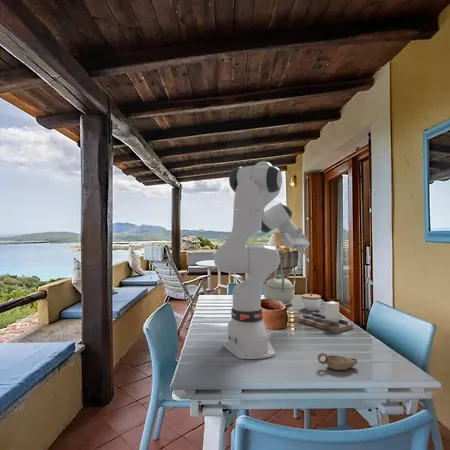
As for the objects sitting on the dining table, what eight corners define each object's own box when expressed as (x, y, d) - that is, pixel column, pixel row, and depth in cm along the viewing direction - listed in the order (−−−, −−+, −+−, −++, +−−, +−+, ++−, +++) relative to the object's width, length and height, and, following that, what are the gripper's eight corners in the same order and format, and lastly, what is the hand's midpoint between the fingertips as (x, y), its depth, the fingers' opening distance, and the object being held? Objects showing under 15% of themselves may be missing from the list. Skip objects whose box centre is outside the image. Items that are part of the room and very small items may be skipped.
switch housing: (298, 321, 170) (298, 314, 170) (314, 318, 177) (314, 311, 177) (336, 332, 152) (336, 324, 152) (352, 328, 159) (352, 320, 159)
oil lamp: (353, 364, 118) (353, 349, 118) (362, 373, 110) (362, 357, 110) (314, 363, 118) (314, 349, 118) (320, 373, 110) (320, 357, 110)
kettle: (298, 307, 201) (298, 264, 201) (267, 307, 200) (267, 264, 200) (287, 298, 226) (288, 260, 226) (260, 298, 225) (260, 260, 225)
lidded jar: (303, 306, 203) (303, 290, 203) (322, 308, 199) (322, 291, 199) (299, 310, 193) (299, 293, 193) (319, 312, 189) (319, 295, 189)
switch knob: (325, 321, 161) (325, 302, 161) (332, 320, 164) (332, 301, 164) (332, 323, 158) (332, 304, 158) (339, 321, 161) (339, 302, 161)
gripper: (283, 227, 171) (298, 250, 165) (303, 229, 186) (317, 250, 180) (274, 235, 174) (288, 258, 168) (295, 236, 189) (308, 257, 183)
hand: (303, 254), depth 174 cm, fingers closed
